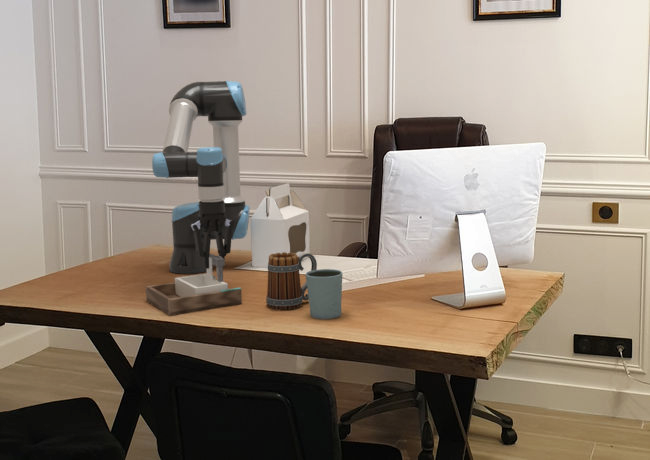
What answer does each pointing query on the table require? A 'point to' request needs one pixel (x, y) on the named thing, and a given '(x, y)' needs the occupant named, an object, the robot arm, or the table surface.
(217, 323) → the table surface
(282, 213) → the gable box
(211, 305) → the bay
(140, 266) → the table surface
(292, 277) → the mug
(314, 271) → the teal coffee mug
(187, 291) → the white box with handle
